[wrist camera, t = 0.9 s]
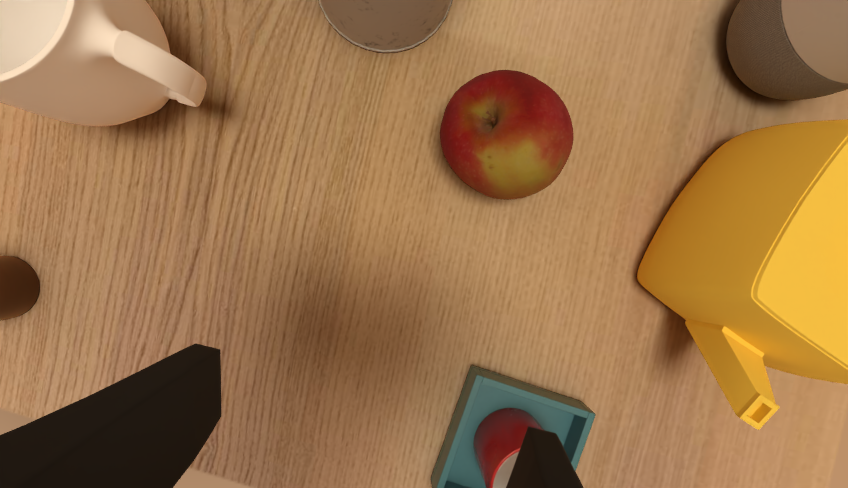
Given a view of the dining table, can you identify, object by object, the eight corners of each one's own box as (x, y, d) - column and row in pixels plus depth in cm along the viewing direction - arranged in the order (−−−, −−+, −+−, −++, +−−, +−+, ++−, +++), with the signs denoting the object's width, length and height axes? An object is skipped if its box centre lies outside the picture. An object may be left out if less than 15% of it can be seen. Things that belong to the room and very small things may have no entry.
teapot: (716, 413, 33) (896, 516, 21) (584, 325, 32) (695, 381, 20) (860, 193, 33) (1119, 172, 21) (733, 99, 32) (930, 22, 20)
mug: (48, 114, 29) (-197, 32, 17) (94, -11, 29) (-119, -182, 17) (218, 178, 30) (100, 143, 18) (263, 57, 30) (175, -59, 18)
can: (542, 478, 31) (573, 532, 26) (471, 478, 31) (488, 532, 26) (546, 408, 31) (578, 446, 26) (474, 406, 31) (492, 445, 25)
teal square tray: (471, 364, 31) (476, 374, 29) (582, 401, 32) (596, 414, 30) (430, 478, 31) (433, 497, 29) (542, 513, 32) (552, 534, 30)
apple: (495, 70, 31) (530, 15, 23) (566, 159, 31) (625, 135, 23) (414, 139, 31) (420, 107, 23) (487, 227, 31) (519, 226, 23)
